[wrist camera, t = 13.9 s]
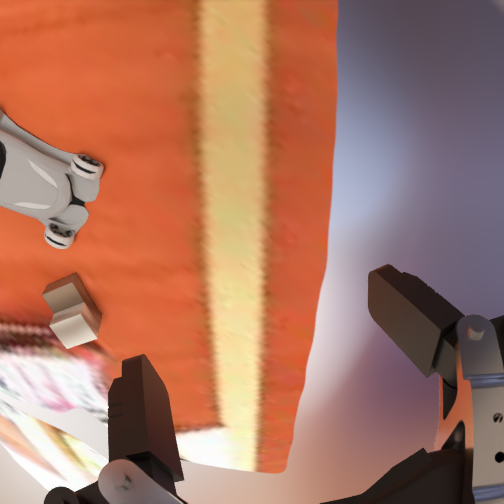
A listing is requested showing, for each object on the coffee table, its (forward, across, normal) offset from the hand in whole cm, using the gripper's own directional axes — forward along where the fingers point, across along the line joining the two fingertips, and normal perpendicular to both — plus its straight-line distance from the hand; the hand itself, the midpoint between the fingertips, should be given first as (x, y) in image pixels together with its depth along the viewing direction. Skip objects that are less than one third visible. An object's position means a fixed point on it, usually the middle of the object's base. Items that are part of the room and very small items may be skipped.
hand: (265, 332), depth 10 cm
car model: (+28, +20, -8) cm, 36 cm away
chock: (+28, +19, +11) cm, 36 cm away
